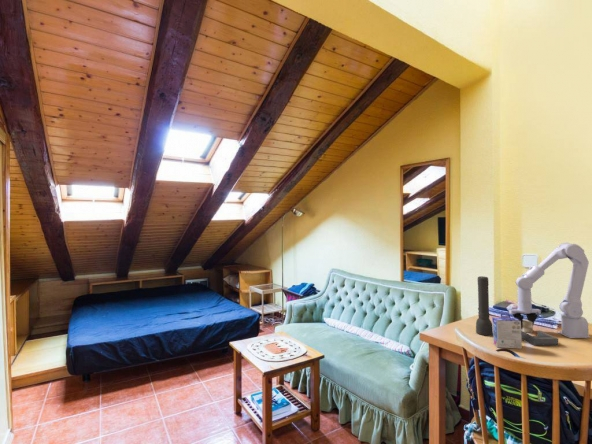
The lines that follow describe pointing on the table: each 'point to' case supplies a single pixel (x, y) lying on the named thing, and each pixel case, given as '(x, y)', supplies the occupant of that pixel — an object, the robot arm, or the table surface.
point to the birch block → (527, 326)
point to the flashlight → (483, 308)
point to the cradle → (540, 339)
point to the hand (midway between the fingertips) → (525, 328)
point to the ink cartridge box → (507, 332)
